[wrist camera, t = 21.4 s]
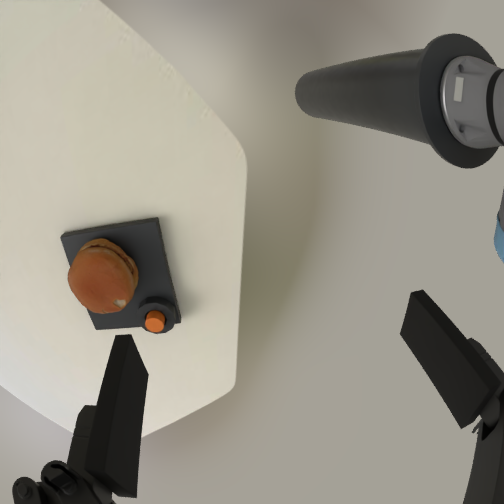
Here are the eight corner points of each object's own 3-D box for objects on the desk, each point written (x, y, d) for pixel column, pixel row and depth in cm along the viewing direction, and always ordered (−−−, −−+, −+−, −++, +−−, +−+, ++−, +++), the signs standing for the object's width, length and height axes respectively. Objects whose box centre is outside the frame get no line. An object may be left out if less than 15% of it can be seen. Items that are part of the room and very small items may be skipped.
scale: (157, 217, 38) (154, 226, 35) (181, 318, 45) (180, 331, 42) (63, 232, 36) (55, 242, 34) (98, 325, 44) (93, 338, 41)
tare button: (162, 309, 41) (161, 317, 39) (166, 323, 42) (165, 331, 40) (144, 311, 41) (143, 318, 39) (149, 325, 42) (148, 333, 40)
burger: (81, 228, 35) (68, 244, 31) (147, 251, 38) (140, 269, 34) (72, 288, 39) (61, 307, 35) (130, 308, 42) (124, 329, 38)
